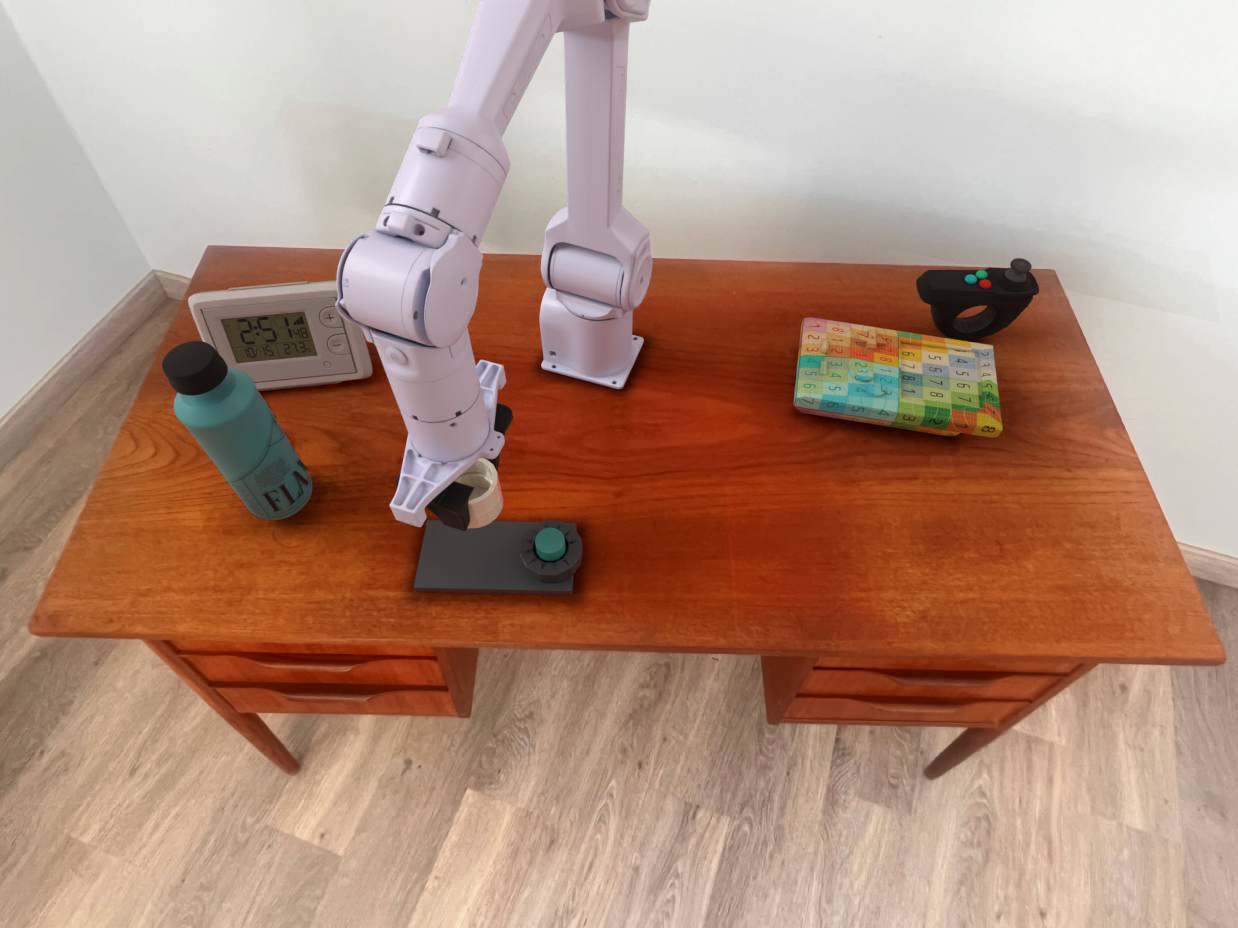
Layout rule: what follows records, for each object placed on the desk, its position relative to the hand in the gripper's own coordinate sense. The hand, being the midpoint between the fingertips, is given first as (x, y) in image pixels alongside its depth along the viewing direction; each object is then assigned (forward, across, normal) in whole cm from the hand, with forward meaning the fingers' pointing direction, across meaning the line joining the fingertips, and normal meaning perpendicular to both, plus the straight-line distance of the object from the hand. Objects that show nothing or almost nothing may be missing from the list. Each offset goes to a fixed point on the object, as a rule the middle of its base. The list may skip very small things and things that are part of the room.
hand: (470, 498), depth 62 cm
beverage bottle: (+9, -2, +20) cm, 22 cm away
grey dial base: (+8, -1, -2) cm, 9 cm away
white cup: (+1, 0, 0) cm, 1 cm away
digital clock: (+9, +13, +28) cm, 33 cm away
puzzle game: (+8, +31, -33) cm, 46 cm away
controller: (+8, +43, -39) cm, 59 cm away
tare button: (+6, +1, -6) cm, 9 cm away
